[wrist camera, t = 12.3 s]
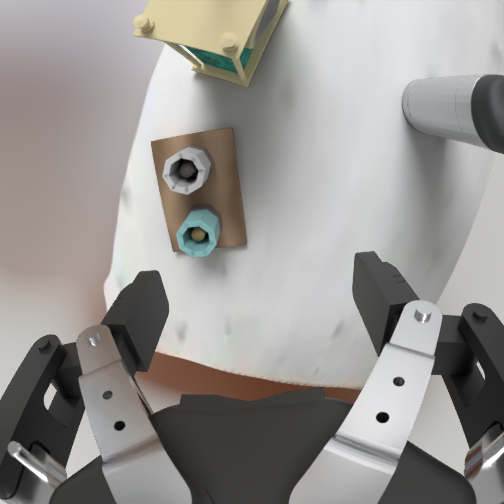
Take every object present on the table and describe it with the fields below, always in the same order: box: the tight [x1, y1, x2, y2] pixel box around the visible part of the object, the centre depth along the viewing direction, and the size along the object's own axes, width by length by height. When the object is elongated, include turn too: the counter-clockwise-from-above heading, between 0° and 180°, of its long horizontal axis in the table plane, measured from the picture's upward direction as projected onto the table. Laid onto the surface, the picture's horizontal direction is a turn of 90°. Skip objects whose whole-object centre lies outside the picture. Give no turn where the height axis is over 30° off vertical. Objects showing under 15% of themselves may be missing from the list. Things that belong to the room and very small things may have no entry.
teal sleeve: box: [176, 204, 222, 257], centre depth 41 cm, size 5×5×6 cm
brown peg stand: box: [151, 128, 247, 252], centre depth 41 cm, size 12×18×6 cm, turn 6°
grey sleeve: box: [163, 145, 214, 195], centre depth 37 cm, size 5×5×6 cm
